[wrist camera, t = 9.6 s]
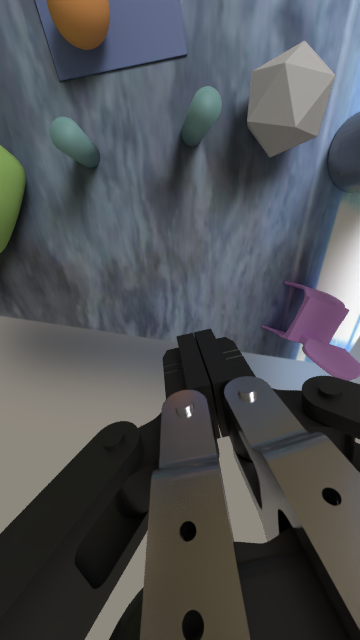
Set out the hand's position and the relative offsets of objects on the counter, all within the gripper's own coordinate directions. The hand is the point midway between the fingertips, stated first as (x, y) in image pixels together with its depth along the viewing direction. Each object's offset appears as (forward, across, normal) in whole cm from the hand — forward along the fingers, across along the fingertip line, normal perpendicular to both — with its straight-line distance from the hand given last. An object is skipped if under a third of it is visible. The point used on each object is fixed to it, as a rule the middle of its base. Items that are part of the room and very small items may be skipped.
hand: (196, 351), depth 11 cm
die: (+27, -16, -13) cm, 34 cm away
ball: (+24, +3, -24) cm, 34 cm away
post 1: (+27, +6, -13) cm, 31 cm away
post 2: (+27, -6, -13) cm, 31 cm away
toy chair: (+27, -18, +13) cm, 35 cm away
